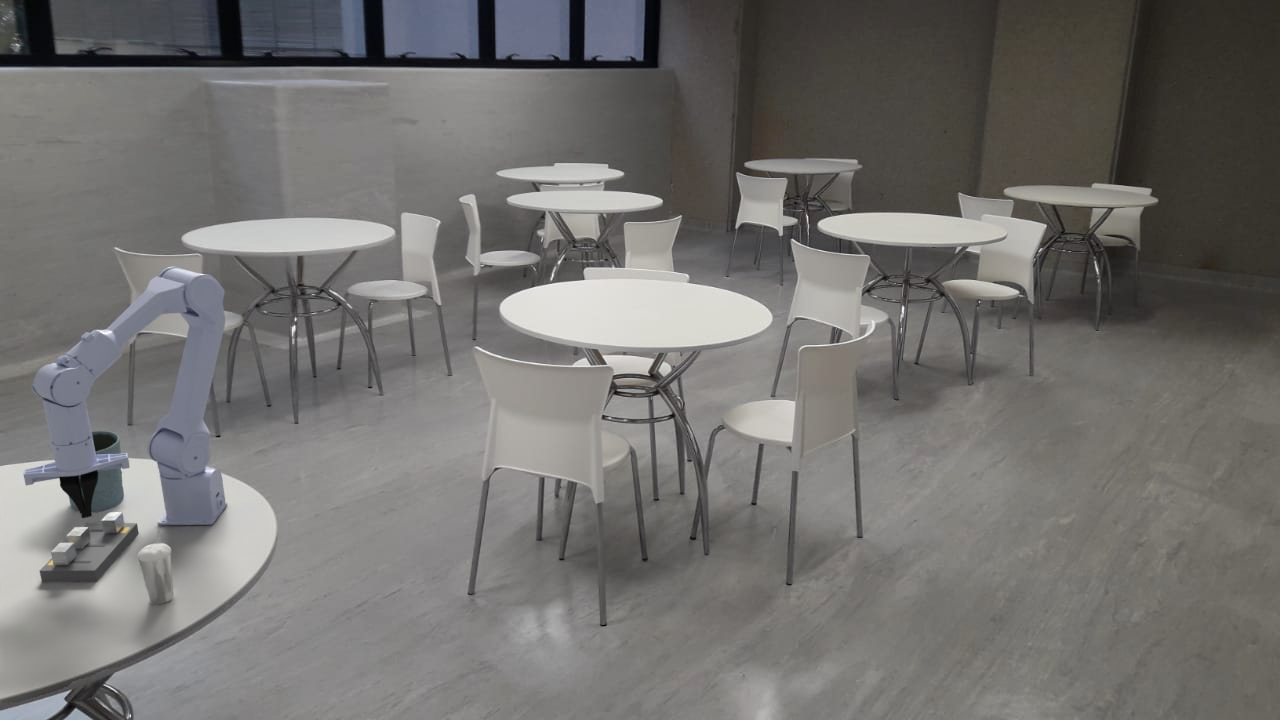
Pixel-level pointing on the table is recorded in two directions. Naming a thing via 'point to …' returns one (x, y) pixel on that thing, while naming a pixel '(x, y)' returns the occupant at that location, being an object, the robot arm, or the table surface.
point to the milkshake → (157, 571)
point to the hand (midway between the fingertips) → (86, 514)
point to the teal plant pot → (106, 474)
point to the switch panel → (92, 555)
